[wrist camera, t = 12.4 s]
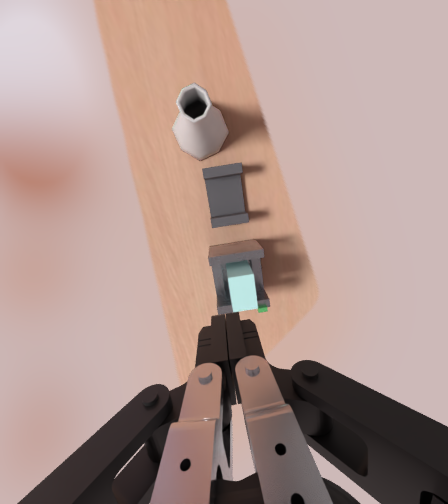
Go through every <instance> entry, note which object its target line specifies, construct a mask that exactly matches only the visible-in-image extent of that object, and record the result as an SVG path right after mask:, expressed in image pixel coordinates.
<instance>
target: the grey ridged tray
mask: <svg viewBox="0 0 448 504" xmlns="http://www.w3.org/2000/svg"><path fill="white" fill-rule="evenodd" d="M202 170H203V176H204V179H205V183H206V189H207V195H208V201H209V207H210V213H211V224H212V228H216V227H222V226H229V225H235V224H241V223H247V222H249V218H248V213H247V212H245V207H244V199H243V192H242V184H241V176H240V174H241V173H243V171H242V163H235V164H229V165H223V166H217V167H210V168H204V169H202Z"/></svg>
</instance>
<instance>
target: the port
mask: <svg viewBox="0 0 448 504" xmlns="http://www.w3.org/2000/svg"><path fill="white" fill-rule="evenodd" d="M263 257H264V249H263V248H262V247H261V246H260V244H259V243H258V242H257V241H256V240H255V239H253V240H247V241H240V242H234V243H228V244H222V245H215V246H210V247H209V255H208V259H209V265H210V266H212V271H213V277H214V282H215V288H216V294H217V310H218V315H220V314H226V313H232V312H233V308H232V304H231V298H230V291H229V285H228V276H227V269H226V263H232V262H238V261H245V260H247V261H248V263H249V265H250V267H251V269H252V272H253V274H254V280H255V288H256V296H257V304H258V312H259V313H260V312H266V311H268V310H267V307H270V301H269V298H268V296H267V294H266V292H265V290H264V285H263V277H262V269H261V260H260V258H263Z"/></svg>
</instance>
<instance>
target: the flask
mask: <svg viewBox="0 0 448 504" xmlns="http://www.w3.org/2000/svg"><path fill="white" fill-rule="evenodd" d="M176 104H177V106H178V108H179V111H180V112H179V114H178V116H177V119H176V121H175V123H174V125H173V127H172V130H173V133H174V135H175V137H176V139H177V141H178V144H179V146H180V148H181V150H182V151H184V152H186V153H187V154H189V155H191V156H192V157H194V158H196V159H198V160H199V161H201V160H203V159H205V158H207V157H209V156H211V155H213V154H216V153H218V152H219V150H220V149H221V147H222V145H223V143H224V141H225V139H226V137H227V135H228V133H229V131H228V129H227V126H226V124H225V121H224V119H223V116H222V114H221V111H220V110H219V109H217V108H216V107H214V106H212V103H211V101H210V98H209V96H208V93H207V91H206V90H205V89H204V88H202V87H200V86H199V85H197V84H196V83H192V84H190V85H188V86H186V87H184V88H182V90H181V92H180V94H179V96H178V98H177V101H176Z"/></svg>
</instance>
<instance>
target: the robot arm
mask: <svg viewBox="0 0 448 504" xmlns="http://www.w3.org/2000/svg"><path fill="white" fill-rule="evenodd" d="M235 391H236V394H235ZM236 396H237V400H238V404H242V409H243V414H244V419H245V425H246V430H247V434H248V439H249V444H250V449H251V454H252V458H253V463H254V468H255V473H254V474H252V475H251V476H248V477H246V478H245V479H243V480H240V481H233V477H232V419H231V418H232V410H231V405H235V404H236ZM143 444H145V445H144V446H143V447H142V449H141V450H140V451H139V452H138V453H137V454H136V455H135V456H134V458H133V459H132V460H131V461H130V462H129V463H128V464H127V466H126V467H125V468H124V469H123V470H122V471H121V472H120V473H119V474H118V476H117V477H116V478H115V476H116V475H117V473H118V472H119V470H120V469H121V468H122V467H123V466H124V465H125V464H126V463H127V461H128V460H129V459H130V458H131V457H132V456H133V455H134V454H135V453H136V451H137V450H138V449H139V448H140V447H141V446H142V445H143ZM307 444H308V445H309V446H310V447H312V448H313V449H314V450H315V451H316V452H318V453H319V454H320V455H321V456H323V457H324V458H325V459H326V460H328V461H329V462H330V463H331V464H333V465H334V466H335V467H336V468H338V469H339V470H340V471H341V472H342V473H344V474H345V475H346V476H347V477H349V478H350V479H351V480H352V481H354V482H355V483H356V484H357V485H358V486H360V487H361V488H362V489H364V490H365V491H366V492H367V493H368V494H370V495H371V496H372V497H373V498H374V499H376V500H377V501H378V502H380V503H381V504H448V427H447V426H445V425H443V424H441V423H439V422H437V421H435V420H433V419H431V418H429V417H427V416H425V415H423V414H421V413H419V412H417V411H415V410H413V409H411V408H409V407H407V406H405V405H403V404H401V403H398V402H397V401H395V400H392V399H391V398H389V397H387V396H385V395H383V394H381V393H379V392H377V391H374V390H373V389H371V388H368V387H367V386H365V385H363V384H361V383H358V382H357V381H355V380H353V379H351V378H348V377H346V376H344V375H342V374H340V373H338V372H336V371H334V370H332V369H330V368H328V367H326V366H324V365H322V364H320V363H318V362H315V361H311V360H303V361H299V362H297V363H296V364H294V365H293V367H292V369H291V370H287V369H279V368H276V367H274V366H272V365H271V364H269V363H268V362H267V360H266V359H265V356H264V352H263V349H262V346H261V342H260V339H259V336H258V332H257V329H256V325H255V324H254V323H253V322H252V321H251V320H250V319H248V320H242V321H240V317H239V312H233V313H227V314H226V318H225V314H221V315H215V316H212V317H211V326H206V327H203V328H202V330H201V331H200V333H199V336H198V347H197V355H196V364H195V368H194V369H193V370H192V371H191V373H190V375H189V377H188V381H187V382H186V383H185V384H183V385H181V386H179V387H177V388H175V389H173V390H171V391H169V390H168V388H167V387H166V386H164V385H161V384H156V385H152V386H149V387H147V388H145V389H144V390H142V391H141V392H140V393H139V394H138V395H137V396H136V397H134V398H133V399H132V400H131V401H130V402H129V403H128V404H127V405H126V406H124V407H123V408H122V409H121V410H120V411H119V412H118V413H117V414H116V415H115V416H113V417H112V418H111V419H110V420H109V421H108V422H107V423H106V424H105V425H104V426H102V427H101V428H100V429H99V430H98V431H97V432H96V433H95V434H94V435H93V436H91V437H90V438H89V439H88V440H87V441H86V442H85V443H84V444H83V445H82V446H81V447H79V448H78V449H77V450H76V451H75V452H74V453H73V454H72V455H70V456H69V458H67V459H66V460H65V461H64V462H63V463H62V464H61V465H59V466H58V467H57V468H56V469H55V470H54V471H53V472H52V473H51V474H50V475H48V476H47V477H46V478H45V479H44V480H43V481H42V482H41V483H40V484H39V485H37V486H36V487H35V488H34V489H33V490H32V491H31V492H30V493H29V494H28V495H26V496H25V497H24V498H23V499H22V500H21V501H20V502H19V503H18V504H149V503H150V504H360V503H359V502H358V501H357V500H356V499H355V498H354V497H352V496H351V495H350V494H349V493H348V492H346V491H345V490H344V489H342V488H341V487H340V486H338V485H336V484H335V483H333V482H331V481H329V480H327V479H325V478H322V477H321V475H320V473H319V470H318V468H317V466H316V463H315V461H314V459H313V456H312V454H311V452H310V449H309V448H308V445H307ZM114 478H115V479H114Z"/></svg>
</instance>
